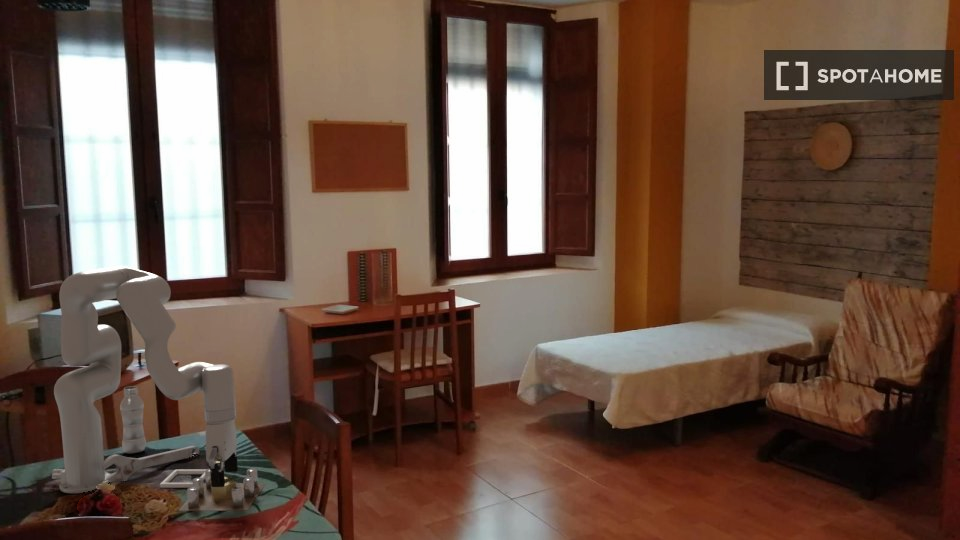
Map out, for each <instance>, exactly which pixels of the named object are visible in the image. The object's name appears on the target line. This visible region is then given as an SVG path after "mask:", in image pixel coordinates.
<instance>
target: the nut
mask: <svg viewBox="0 0 960 540" xmlns="http://www.w3.org/2000/svg"><path fill="white" fill-rule="evenodd" d="M224 478H225V486H224V487H212V486H211V496H212V498H213V500H214V501H227V500H230V499H232V492H231V489H232V488H234V487H236V483H237V480H236V479H235V477H234V476H224Z"/></svg>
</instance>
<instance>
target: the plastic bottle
mask: <svg viewBox="0 0 960 540" xmlns="http://www.w3.org/2000/svg"><path fill="white" fill-rule="evenodd" d="M138 394H139V391H138V387H137V386H133V385H132V386H126V387H124V388H123V396H124V397H123V399H122V400H121V401H120V405H119V409H120V414H121V418H122V420H121V421H122V429H123V431H122V432H123V433H122V442H121V448H122V450H123V453H126V454H137V453H142V452H143V451H145V448H146V446H147V440H146V437H145V430H144V426H143V420H144V419H143V418H144V407H145V406H144V403H145V402H144V401H143V400H142V398H141V397H140V396H139V395H138Z"/></svg>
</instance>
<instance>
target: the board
mask: <svg viewBox="0 0 960 540" xmlns="http://www.w3.org/2000/svg"><path fill="white" fill-rule="evenodd" d="M266 485H267V482H258V487H256V488H254V493H255V496H254V497H252V498H244V486H243V482H236V487H242V491H243V507H241V508H238V509H235V508H232V499H230V500H227V501H214V500H213V498H212V496H211V489H207V488H206V482H204V497H202V498H199V507H197V508H194V509H190V508H188V499H187V500H186V501H185V502H184V503H183V504H182V505H181V506H180V508H178V510H177V511H179V512H181V511H183V512H184V511H185V512H187V511H188V512H189V511H192V512H193V511H194V512H198V511H199V512H200V511H201V512H202V511H203V512H204V511H205V512H207V511H208V512H209V511H212V512H213V511H219V512H220V511H222V512H225V511H226V512H228V511H230V512H231V511H233V512H234V511H237V512H238V511H244V512H245V511H248V509H249V508H250V507H251V506H252V504H253V503H254V501H255V500H256V499H257V497H258V496H259V494H260V493H261V492H262V491H263V489H264V487H265V486H266Z"/></svg>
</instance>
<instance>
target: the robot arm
mask: <svg viewBox="0 0 960 540" xmlns="http://www.w3.org/2000/svg"><path fill="white" fill-rule="evenodd" d="M171 292H172V291H171V287H170V285H169V283H168V282H167V281H166V279H164V278H163V277H161V276H159V275H157V274H155V273H151V272H147V271H144V270H140V269H136V268H133V267H131V266H130V267H128V266H124V265H114V266H107V267H100V268H93V269H88V270H83V271H79V272H76V273H74V274H71V275H69V276H68V277H67V278H65V279H64V281H62V283H61V286H60V290H59V293H58V294H59V297H58V298H59V305H60V313H61V320H60V321H61V322H60V323H61V324H60V327H61V328H60V329H61V330H60V332H61V333H60V353H61V358H62V359H61V360H62V361H63V362H64V363H65V364H66V365H67V366H70V367H77V368H76V369H73V370H71V371H69V372H67V373H65V374H63V375H62V376H60V377H59V378H58V379H57V380H56V382H55V384H54V387H53V395H54V398H55V402H56V405H57V409H58V414H59V418H60V419H59V420H60V427H61V438H62V439H61V440H62V450H63V463H64V465H63V466H64V468H54V469H52V471H51V480H52V479H53V480H59V479H60V480H61V482H60V483H59V484H58V485H59V490H60V492H62V493H65V494H83V492H85V493H89V492H88V491H90V492H93V491H92V490H94V489H95V488H96V486H97V485H98V484H101V483H106V482H110V483H111V482H112V481H108V480H107V479H106V477H108V476H109V475H110V474H111V473H110V472H108V471H107V472H106V469H104V468H102V464H103V462H104V460H105V454H104V440H103V439H104V438H103V427H102V425H103V424H102V418H101V415H100V413H99V410H98V409H97V407H96V406H95V404H94V403H95V401H97V400H101V399H103V398H105V397H108V396H110V395H112V394H113V393H115V392H116V391H117V390H118V388H119V386H120V383H121V378H122V377H121V373H122V341H121V338H120V335H119V333H118V332H117V330H116V329H115V328H114V327H112V326H111V325H108V324H104V323H103V324H98V322H99V314H98V310H97V309H96V307H95V305H94V304H95V303H100V302H104V301H109V300H113V299H116V300H117V303H118V304H119V306H120V307H121V309H122V310H123V312H124V313H125V315H126V316H127V318H129V320H130V322H131V323H132V325H133V326H134V328H135V330H137V332H138V334H139V335H140V337H141V338H142V339H143V342H144V345H145V347H144V359H145V366H146V369H147V372H148V374H149V375H150V378H151V379H152V381H153V382H154V384H155V385H156V387H157V388H158V389H159V391H160V392H161V393H162V394H163V395H164V396H165V397H166V398H167V399H170V400H173V401H180V400H184V399H186V398H188V397H190V396H192V395H194V394H197V393H200V392H202V396H203V398H202V399H203V410H204V412H203V414H204V422H205V424H206V426H205V460H206V462H207V463H208V469H210V473H211V486H212V487H224V486H225V478H224V477H225V472H226V473H236V472H238V471H239V466H238V465H239V464H238V451H237V448H238V439H237V430H236V429H237V428H236V423H235V421H236V420H237V411H236V410H237V409H236V395H235V394H236V393H235V380H234V370H233V368H232V366H231V365H228V364H225V363H224V364H221V363H220V364H213V363H208V362H204V361H194V362H191V363H188V364H186V365H183V366H180V367H177V366H176V365H175V363H174V362H173V360H172V358H171V356H170V354H169V350H168V349H169V348H168V343H169V339H170V337H171V335H173V333H174V332H175V330H176V328H177V324H176V321H175V320H174V319H173V318H172V316H171V315H170V313H169V312H168V310H167V309H166V307H165V306H164V305H165V304H167V303H168V302H169V300H170V298H171V295H172V293H171ZM86 365H87V366H86ZM82 366H85V367H82ZM78 367H80V368H78ZM218 463H219V465H218ZM223 468H224V469H223ZM94 491H95V490H94Z"/></svg>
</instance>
